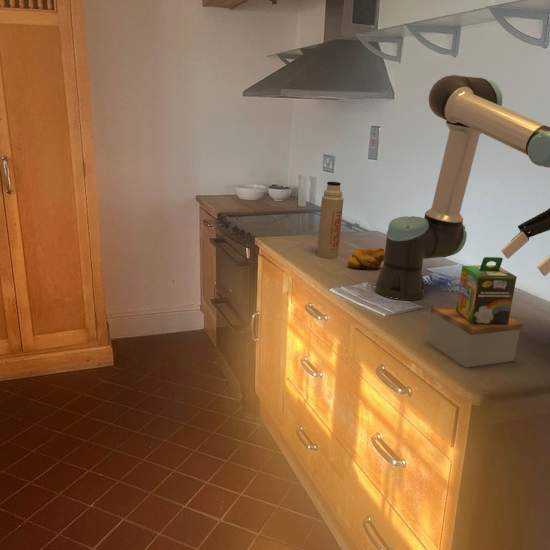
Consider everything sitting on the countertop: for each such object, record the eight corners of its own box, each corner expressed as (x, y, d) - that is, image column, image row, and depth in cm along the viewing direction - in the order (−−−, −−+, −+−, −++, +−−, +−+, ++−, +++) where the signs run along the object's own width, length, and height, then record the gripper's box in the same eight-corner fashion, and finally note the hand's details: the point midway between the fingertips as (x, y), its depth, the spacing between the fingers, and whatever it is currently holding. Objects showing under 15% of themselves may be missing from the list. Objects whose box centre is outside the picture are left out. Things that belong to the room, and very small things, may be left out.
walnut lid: (430, 311, 134) (430, 306, 134) (477, 307, 139) (477, 302, 139) (472, 334, 121) (473, 329, 120) (522, 328, 126) (523, 323, 126)
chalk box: (490, 311, 133) (500, 251, 129) (509, 325, 124) (521, 261, 120) (453, 310, 132) (463, 250, 128) (470, 324, 123) (481, 260, 119)
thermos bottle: (341, 258, 208) (349, 183, 200) (323, 259, 205) (330, 183, 197) (331, 252, 215) (338, 180, 207) (313, 253, 212) (319, 180, 204)
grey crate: (427, 342, 136) (432, 312, 134) (472, 337, 141) (478, 307, 139) (465, 367, 124) (471, 334, 121) (513, 360, 129) (520, 329, 126)
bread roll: (351, 271, 192) (353, 249, 190) (342, 263, 201) (344, 242, 199) (385, 271, 195) (388, 249, 193) (375, 263, 204) (378, 242, 202)
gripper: (646, 222, 113) (567, 291, 115) (564, 200, 137) (499, 258, 138) (631, 195, 111) (550, 267, 112) (549, 178, 134) (483, 237, 136)
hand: (521, 262), depth 125 cm, fingers open, 13 cm apart
